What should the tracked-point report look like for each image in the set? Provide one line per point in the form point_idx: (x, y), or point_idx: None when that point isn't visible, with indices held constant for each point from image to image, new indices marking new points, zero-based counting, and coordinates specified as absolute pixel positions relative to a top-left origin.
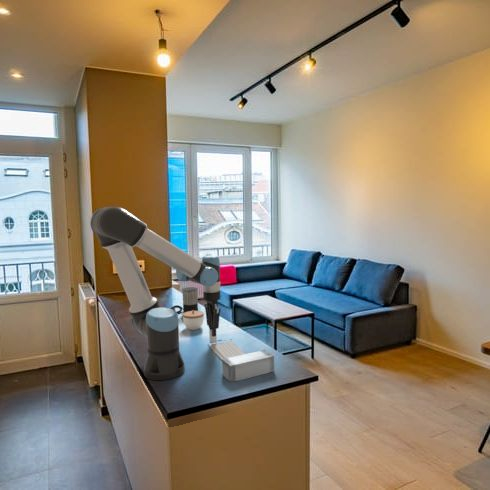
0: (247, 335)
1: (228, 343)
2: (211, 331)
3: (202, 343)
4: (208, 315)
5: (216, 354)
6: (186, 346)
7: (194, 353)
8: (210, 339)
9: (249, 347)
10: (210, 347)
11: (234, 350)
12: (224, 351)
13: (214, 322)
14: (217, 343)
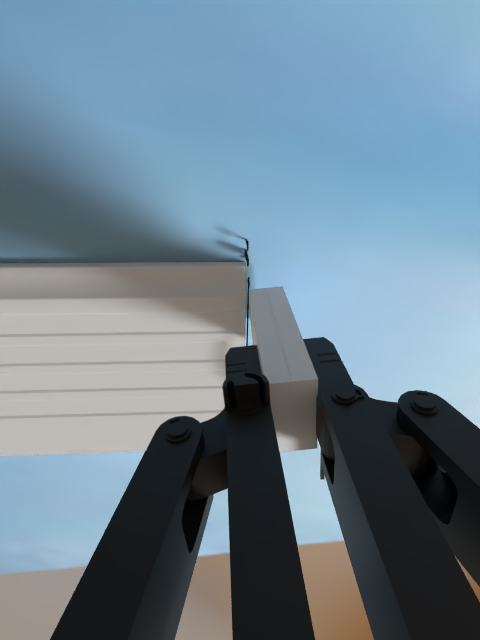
0: (334, 539)
1: (197, 417)
2: (261, 373)
3: (372, 226)
4: (472, 613)
5: (14, 264)
6: (394, 6)
7: (113, 39)
8: (263, 306)
9: (111, 500)
10: (210, 264)
11: (24, 414)
12: (10, 342)
13: (103, 552)
14: (243, 344)
